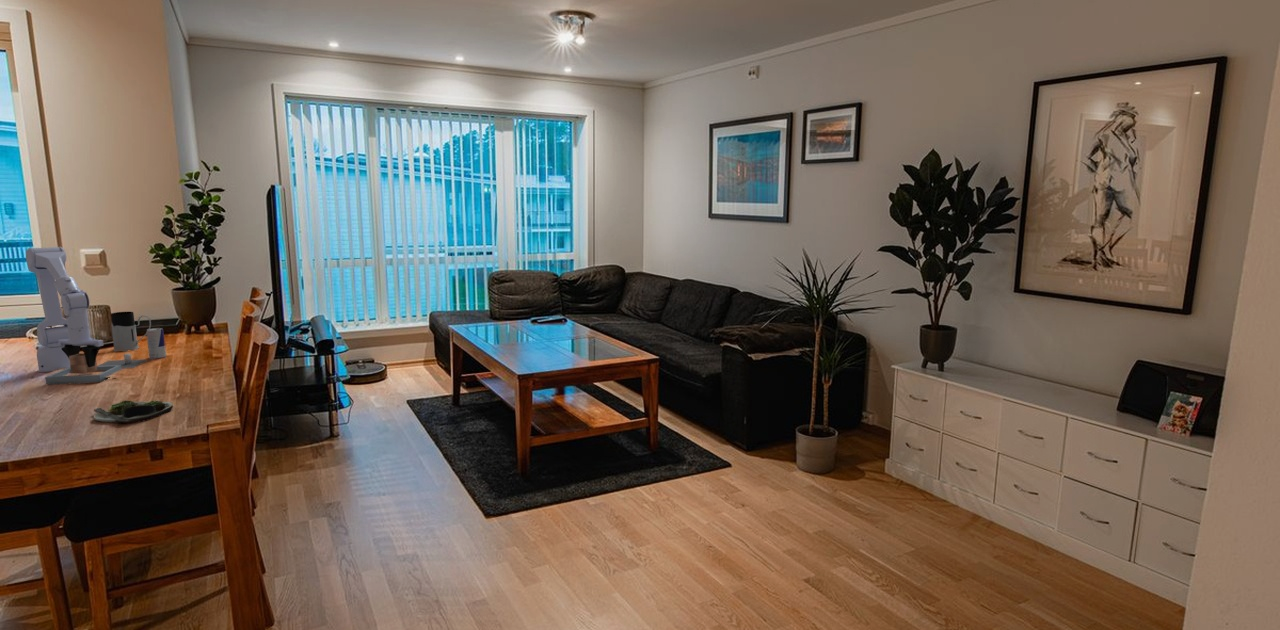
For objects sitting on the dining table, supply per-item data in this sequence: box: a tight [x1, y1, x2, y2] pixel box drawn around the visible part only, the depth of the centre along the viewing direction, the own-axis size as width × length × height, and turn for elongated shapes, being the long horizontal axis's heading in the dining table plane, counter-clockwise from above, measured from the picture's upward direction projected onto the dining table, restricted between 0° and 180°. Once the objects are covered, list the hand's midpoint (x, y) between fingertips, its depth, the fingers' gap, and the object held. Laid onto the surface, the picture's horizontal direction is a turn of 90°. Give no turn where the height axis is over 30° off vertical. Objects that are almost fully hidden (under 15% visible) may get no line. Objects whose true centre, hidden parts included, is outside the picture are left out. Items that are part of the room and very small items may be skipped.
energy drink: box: [145, 327, 167, 360], centre depth 264 cm, size 5×5×12 cm
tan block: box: [69, 352, 98, 375], centre depth 238 cm, size 5×7×6 cm
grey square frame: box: [44, 365, 123, 385], centre depth 238 cm, size 16×14×2 cm
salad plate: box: [93, 400, 174, 424], centre depth 200 cm, size 19×18×5 cm
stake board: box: [97, 353, 152, 370], centre depth 253 cm, size 14×14×4 cm
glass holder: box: [110, 311, 152, 352], centre depth 281 cm, size 9×14×15 cm, turn 104°
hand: (83, 366), depth 237 cm, fingers closed on tan block, 5 cm apart
